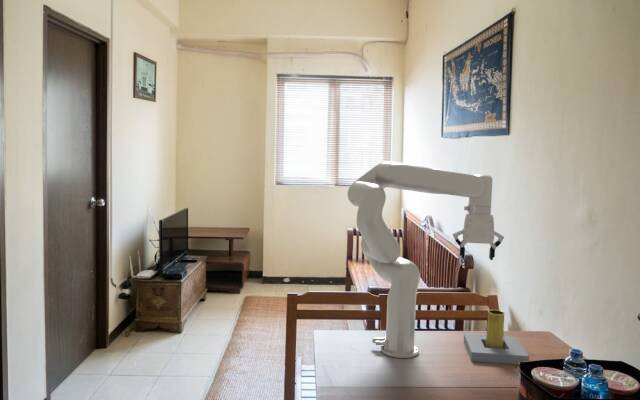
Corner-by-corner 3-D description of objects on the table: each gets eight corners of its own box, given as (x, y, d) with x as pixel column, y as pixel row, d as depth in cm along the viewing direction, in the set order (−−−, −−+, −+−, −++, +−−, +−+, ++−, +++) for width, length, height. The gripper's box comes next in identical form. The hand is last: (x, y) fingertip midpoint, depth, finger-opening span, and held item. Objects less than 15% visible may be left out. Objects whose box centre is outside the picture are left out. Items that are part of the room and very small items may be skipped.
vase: (504, 357, 183) (506, 315, 182) (485, 355, 185) (487, 313, 183) (502, 350, 189) (504, 310, 188) (483, 348, 191) (485, 308, 189)
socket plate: (471, 361, 179) (471, 352, 179) (463, 341, 197) (464, 333, 197) (528, 365, 177) (529, 356, 177) (515, 344, 195) (516, 336, 195)
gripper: (455, 210, 189) (452, 259, 191) (507, 212, 187) (504, 262, 189) (452, 208, 196) (450, 255, 198) (502, 210, 194) (500, 257, 196)
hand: (476, 258), depth 193 cm, fingers open, 9 cm apart
